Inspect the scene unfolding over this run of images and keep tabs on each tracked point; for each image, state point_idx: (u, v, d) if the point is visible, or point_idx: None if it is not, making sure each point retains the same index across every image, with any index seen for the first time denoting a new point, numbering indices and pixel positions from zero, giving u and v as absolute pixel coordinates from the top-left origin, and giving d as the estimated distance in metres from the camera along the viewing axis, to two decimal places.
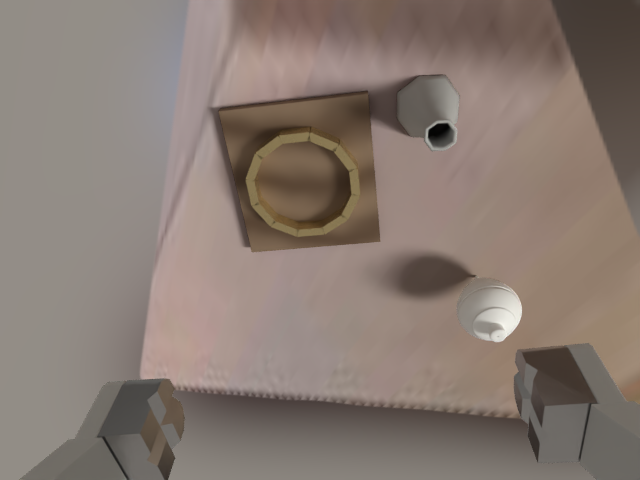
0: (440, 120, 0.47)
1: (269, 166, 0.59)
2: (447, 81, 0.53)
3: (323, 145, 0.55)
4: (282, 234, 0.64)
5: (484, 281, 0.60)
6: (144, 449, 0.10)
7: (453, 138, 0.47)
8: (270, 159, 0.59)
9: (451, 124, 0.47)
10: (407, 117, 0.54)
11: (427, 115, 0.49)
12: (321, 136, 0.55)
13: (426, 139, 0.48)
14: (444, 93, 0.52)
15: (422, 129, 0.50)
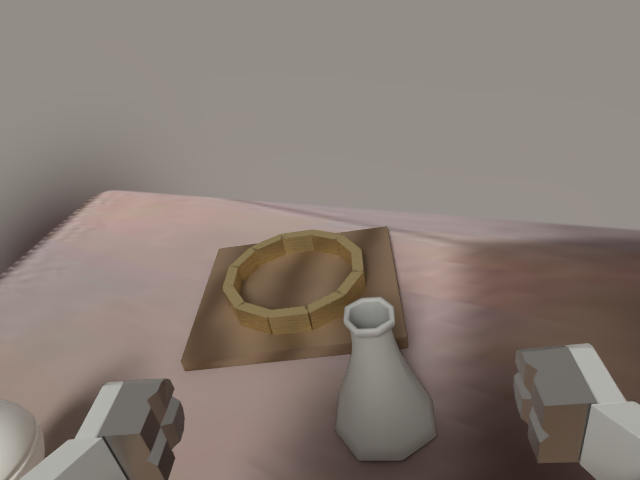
0: None
1: (320, 258, 0.51)
2: (427, 432, 0.33)
3: (345, 282, 0.44)
4: None
5: None
6: (144, 449, 0.10)
7: (362, 329, 0.29)
8: (329, 259, 0.51)
9: (387, 322, 0.29)
10: None
11: None
12: (356, 282, 0.44)
13: (363, 299, 0.31)
14: (415, 398, 0.32)
15: None
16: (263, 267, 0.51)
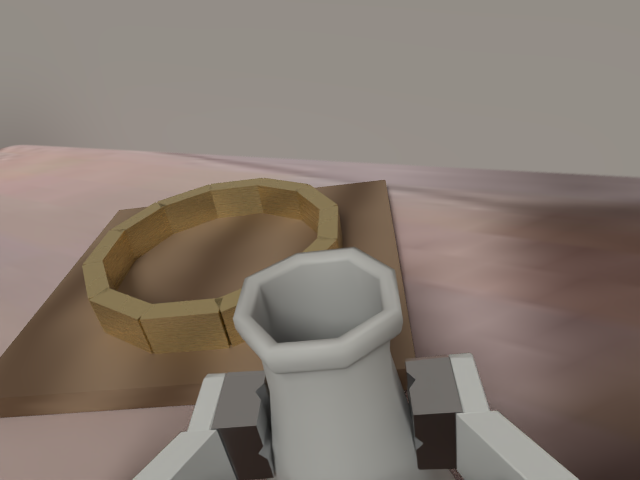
0: (395, 285, 0.09)
1: (271, 224, 0.30)
2: None
3: None
4: None
5: None
6: (257, 442, 0.10)
7: None
8: (285, 225, 0.30)
9: (377, 319, 0.08)
10: None
11: None
12: None
13: (304, 257, 0.10)
14: None
15: None
16: (176, 236, 0.31)
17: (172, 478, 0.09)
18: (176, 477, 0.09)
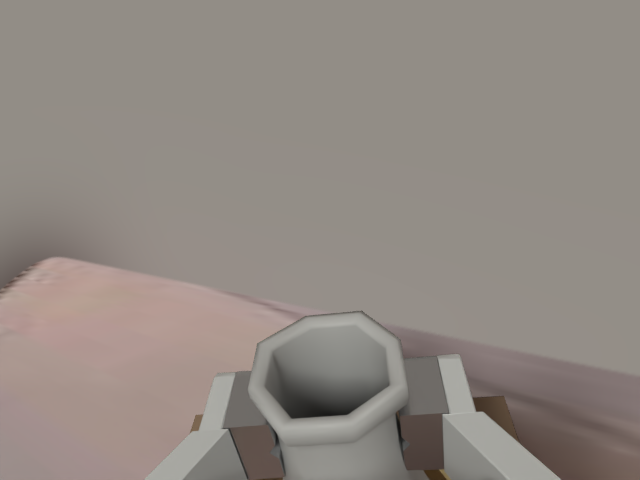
0: (400, 356, 0.10)
1: None
2: None
3: None
4: None
5: None
6: (269, 442, 0.10)
7: (306, 420, 0.09)
8: None
9: (384, 396, 0.09)
10: None
11: None
12: None
13: (313, 321, 0.11)
14: None
15: (333, 402, 0.12)
16: None
17: (185, 477, 0.09)
18: (189, 476, 0.09)
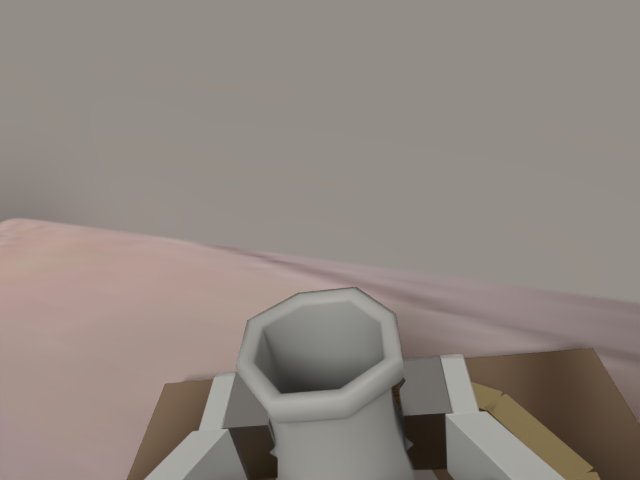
0: None
1: None
2: None
3: None
4: None
5: None
6: (268, 441, 0.10)
7: (296, 395, 0.08)
8: None
9: (378, 370, 0.08)
10: None
11: None
12: None
13: (305, 297, 0.11)
14: None
15: (328, 385, 0.12)
16: None
17: (185, 477, 0.09)
18: (189, 476, 0.09)
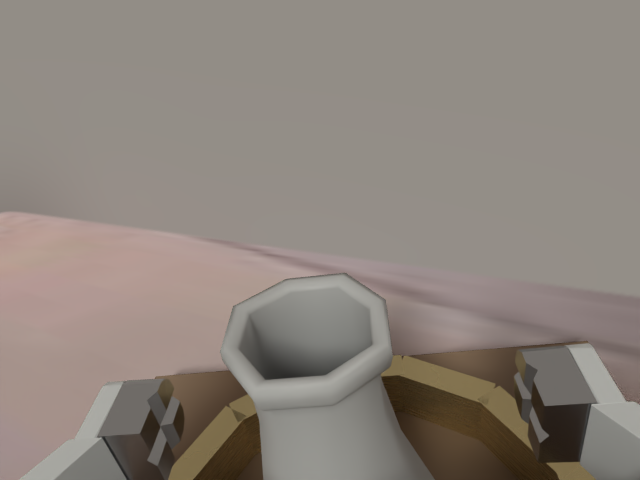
0: (385, 316, 0.09)
1: (427, 448, 0.18)
2: None
3: None
4: None
5: None
6: (144, 449, 0.10)
7: (281, 381, 0.08)
8: (455, 454, 0.17)
9: (365, 355, 0.08)
10: None
11: None
12: None
13: (293, 284, 0.10)
14: None
15: (317, 375, 0.12)
16: None
17: None
18: None
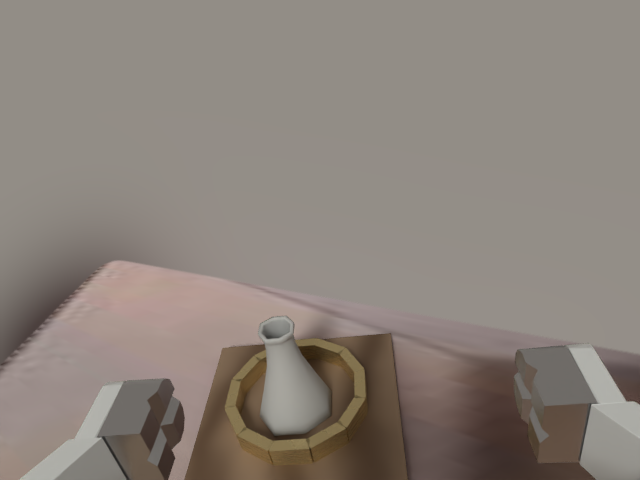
0: (293, 326, 0.42)
1: (323, 370, 0.51)
2: (324, 413, 0.45)
3: (347, 411, 0.44)
4: None
5: None
6: (144, 449, 0.10)
7: (270, 339, 0.42)
8: (332, 371, 0.51)
9: (287, 334, 0.42)
10: None
11: None
12: (358, 411, 0.44)
13: (274, 318, 0.44)
14: (313, 388, 0.45)
15: None
16: None
17: None
18: None
